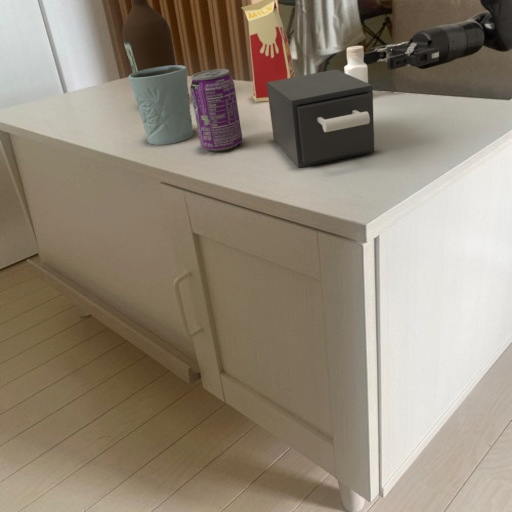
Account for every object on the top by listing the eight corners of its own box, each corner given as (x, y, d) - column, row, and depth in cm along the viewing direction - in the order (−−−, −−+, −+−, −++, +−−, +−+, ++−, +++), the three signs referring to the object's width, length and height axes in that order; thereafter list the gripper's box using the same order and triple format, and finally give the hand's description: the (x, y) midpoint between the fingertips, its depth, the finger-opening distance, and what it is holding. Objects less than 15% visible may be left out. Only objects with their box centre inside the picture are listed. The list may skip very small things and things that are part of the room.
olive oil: (182, 95, 131) (159, -19, 119) (186, 104, 122) (161, -18, 110) (139, 103, 130) (111, -11, 118) (139, 113, 121) (109, -10, 109)
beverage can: (214, 139, 95) (202, 69, 89) (250, 139, 92) (239, 67, 86) (193, 153, 90) (179, 79, 84) (230, 154, 87) (218, 77, 81)
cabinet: (374, 152, 78) (372, 85, 74) (298, 168, 77) (291, 100, 72) (339, 127, 91) (336, 69, 87) (273, 141, 90) (266, 82, 85)
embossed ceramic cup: (135, 147, 98) (118, 79, 92) (158, 130, 106) (143, 67, 100) (186, 144, 95) (172, 74, 89) (206, 127, 103) (194, 62, 97)
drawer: (386, 158, 73) (385, 100, 69) (313, 173, 72) (308, 115, 68) (340, 126, 89) (337, 77, 85) (280, 138, 87) (274, 90, 84)
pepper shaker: (348, 101, 105) (346, 50, 101) (345, 96, 109) (342, 47, 104) (369, 98, 105) (367, 47, 100) (365, 94, 108) (363, 44, 104)
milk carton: (296, 88, 121) (287, -10, 111) (291, 99, 113) (281, -6, 104) (257, 92, 123) (244, -4, 113) (249, 103, 115) (235, 0, 106)
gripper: (414, 25, 115) (351, 39, 109) (465, 27, 104) (398, 43, 98) (413, 61, 119) (353, 77, 113) (463, 68, 107) (398, 85, 102)
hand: (374, 61), depth 106 cm, fingers open, 8 cm apart
